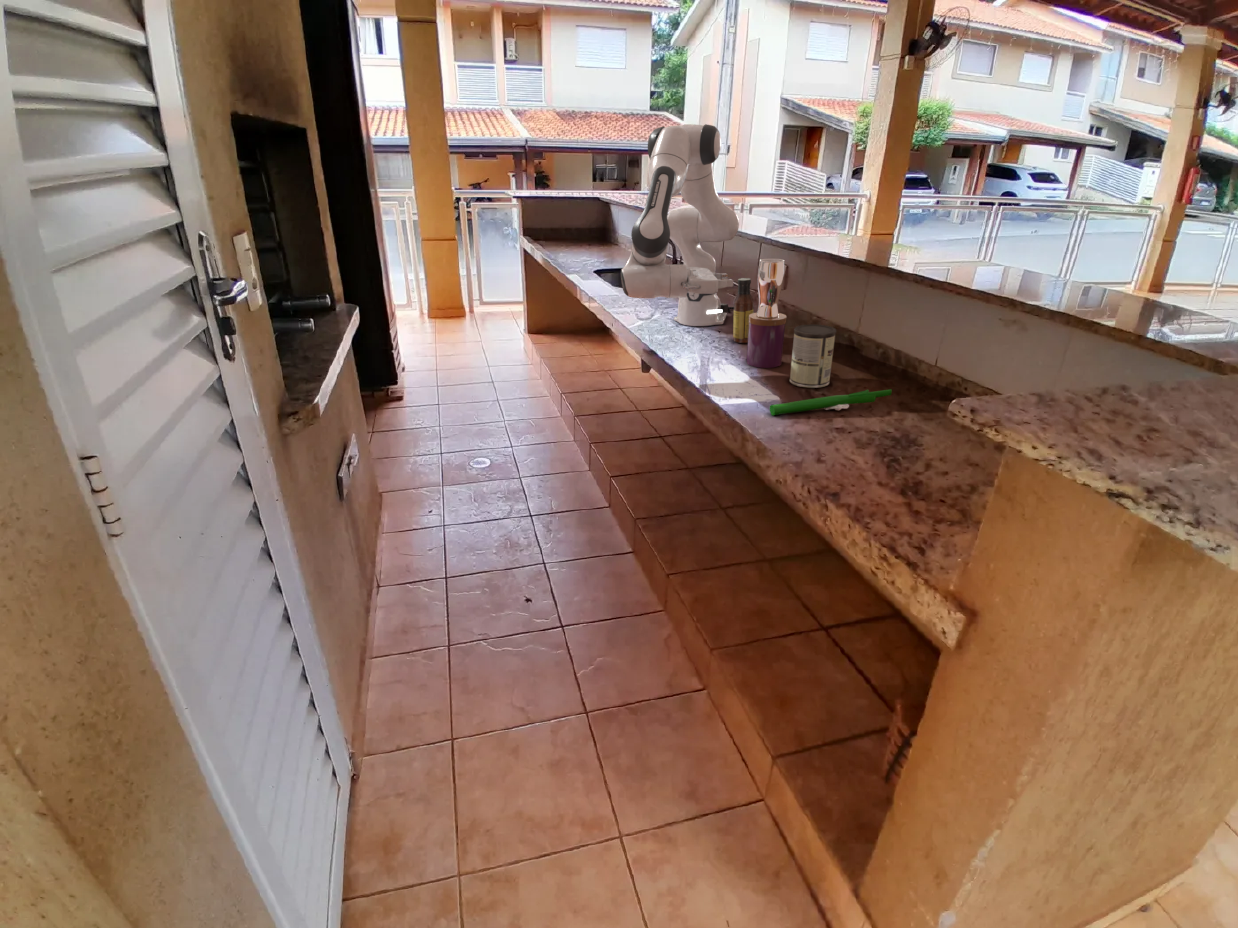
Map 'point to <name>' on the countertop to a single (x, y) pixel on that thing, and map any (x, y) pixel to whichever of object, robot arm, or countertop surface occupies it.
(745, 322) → the sauce bottle
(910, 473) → the countertop surface
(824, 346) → the coffee can
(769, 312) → the metal cocktail shaker
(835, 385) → the countertop surface
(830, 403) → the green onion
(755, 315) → the jar
